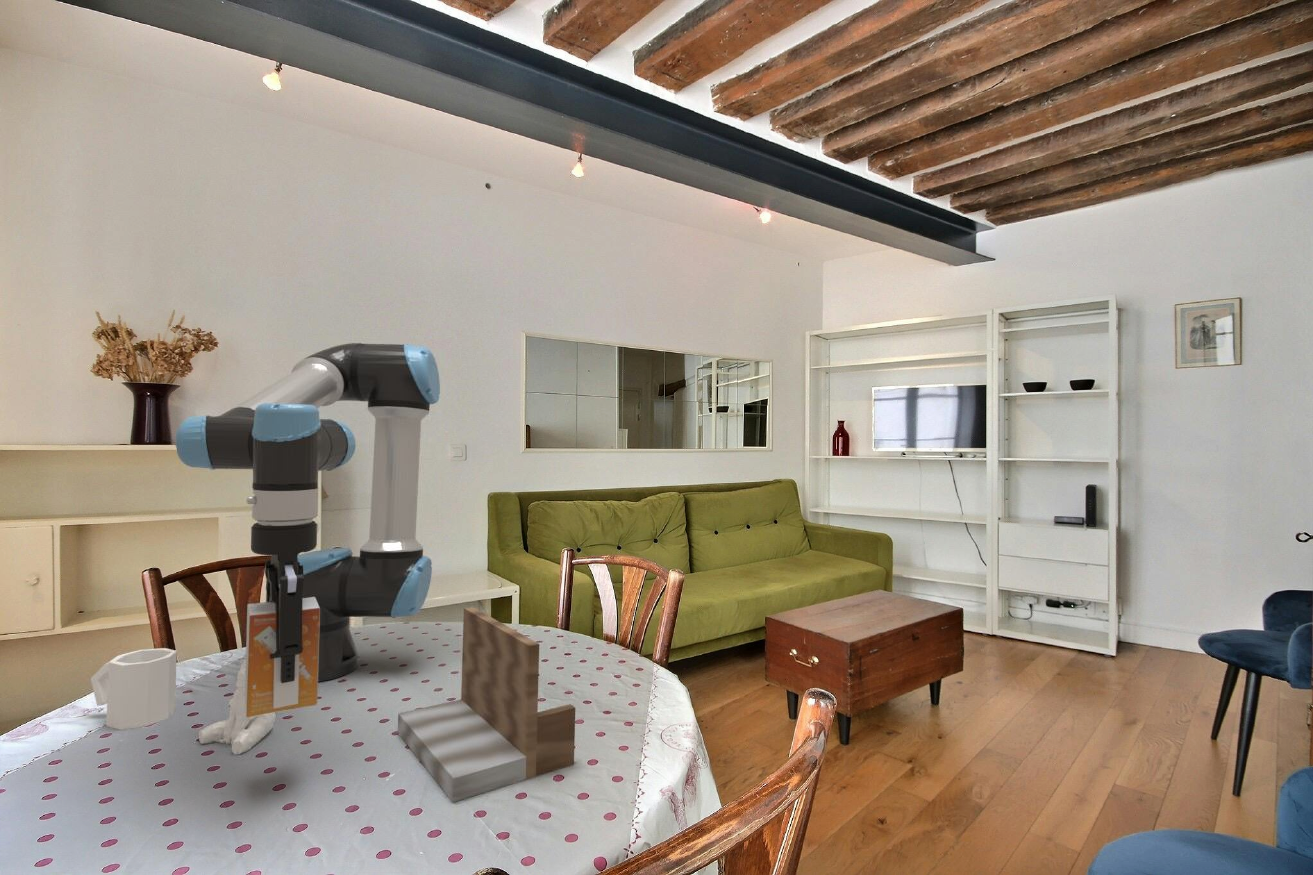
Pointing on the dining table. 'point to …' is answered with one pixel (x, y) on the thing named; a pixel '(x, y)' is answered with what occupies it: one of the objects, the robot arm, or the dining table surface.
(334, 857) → the dining table surface
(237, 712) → the sitting furry creature
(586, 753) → the dining table surface
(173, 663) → the mug
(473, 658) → the wall board
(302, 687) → the small box
